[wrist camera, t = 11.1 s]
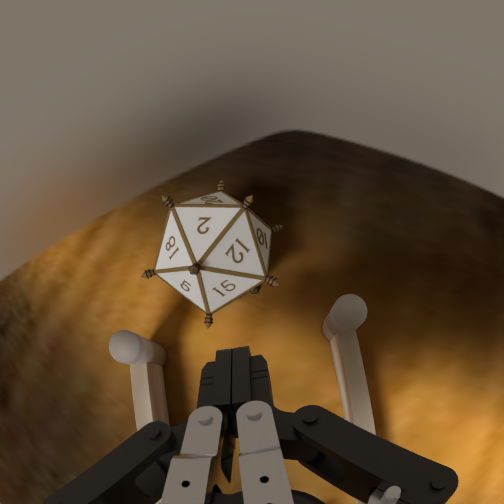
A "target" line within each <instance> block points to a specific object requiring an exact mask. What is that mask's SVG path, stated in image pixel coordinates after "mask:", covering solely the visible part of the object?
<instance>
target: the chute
mask: <svg viewBox="0 0 504 504" xmlns="http://www.w3.org/2000/svg"><path fill="white" fill-rule="evenodd" d="M366 317H367V306H366V304H365V302H364V301H363V299H361V298H360V297H359V296H357V295H354V294H346V295H343V296H341V297H339V298H338V299H337V300H336V302H335V303H334V305H333V307H332V308H331V310H330V312H329V313H328V315H327V316H326V318H325V320H324V321H323V323H322V327H321V330H322V334H323V336H324V337H325V338H326V339H327V340H329V341H330V346H331V351H332V355H333V360H334V366H335V371H336V376H337V381H338V386H339V392H340V397H341V403H342V408H343V414H344V419H345V420H347V421H349V422H351V423H353V424H355V425H356V426H358V427H360V428H362V429H364V430H366V431H368V432H370V433H372V434H374V435H376V432H375V426H374V420H373V414H372V408H371V402H370V397H369V391H368V386H367V381H366V376H365V371H364V366H363V361H362V356H361V352H360V347H359V342H358V338H357V334H356V329H357V328H358V327H359V326H360V325H362V324H363V323H364V321H365V319H366ZM109 350H110V353H111V355H112V357H113V358H114V359H115V360H116V361H118V362H122V363H126V364H130V371H131V383H132V393H133V402H134V410H135V418H136V425H137V431H138V430H140V429H141V428H142V427H143V426H145V425H146V424H148V423H150V422H154V421H162V422H165V423H166V424H168V425H169V427H170V423H169V416H168V409H167V401H166V393H165V385H164V376H163V365H164V364H165V362H166V358H167V355H166V351H165V349H164V348H163V347H162V346H161V345H160V344H157V343H155V342H153V341H150V340H148V339H146V338H144V337H141V336H139V335H137V334H135V333H133V332H130V331H128V330H119V331H117V332H116V333H115V334H114V335H113V336H112V337H111V339H110V343H109ZM161 499H162V498H161ZM161 499H160V500H159V501H158V502H157V503H156V504H159V503H161ZM356 502H357V504H365V503H363V502H361V501H359V500H358V499H356Z"/></svg>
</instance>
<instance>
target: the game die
mask: <svg viewBox="0 0 504 504" xmlns="http://www.w3.org/2000/svg"><path fill="white" fill-rule="evenodd" d="M217 185H218V187H217V188H218V191H217V192H214V193H210V194H206V195H203V196H199V197H196V198H192V199H189V200H185V201H182V202H179V203H175V204H174V203H173V202H172V199H170V196H163V195H162V200H163V204H164V203H165V205H166V206H168V207H170V208H169V212H168V215H167V219H166V223H165V226H164V230H163V234H162V238H161V241H160V245H159V249H158V253H157V257H156V261H155V265H154V269H153V270H149V269H148V270H147V271H146V270H145V272H144V273H143V275H142V276H141V277H144V278H148V279H149V277H152V276H153V275H157V276H158V277H159V278H161V279H162V280H163V281H164V282H166V283H167V284H168V285H169V286H171V287H172V288H173V289H175V290H176V291H177V292H178V293H180V294H181V295H182V296H184V297H185V298H186V299H187V300H189V301H190V302H191V303H193V304H194V305H195V306H197V307H198V308H199V309H201V310H202V311H203V312H205V313H206V318H205V322H204V323H205V324H206V326H207V328H209V327H210V326H211V324H212V323H213V322H212V320H213V319H212V314H213V313H215V312H217V311H218V310H220V309H222V308H223V307H225V306H226V305H228V304H230V303H231V302H233V301H235V300H236V299H238V298H239V297H241V296H243V295H244V294H246V293H247V292H249V291H250V292H252V294H258V289H257V288H256V287H257V286H259V285H260V284H262V283H263V282H265V281H266V282H267V284H269V285H270V286H280V285H279V283H278V281H277V278H274V277H273V276H272V277H270V276H268V272H269V261H270V250H271V238H272V232H276V233H277V232H278V231H279V232H280V230H281V228H282V227H283V226H282V225H278V224H276V225H273V226H272V227H269V226H268V225H267V224H266V223H265V222H264V221H263V220H262V219H260V218H259V217H258V216H257V215H256V214H255V213H254V212H253V211H251V210H250V209H249V208H248V207H250V206H251V204H252V203H254V202H253V195H252V196H248V197H247V196H245V199H244V200H243V203H241V202H239V201H238V200H236V199H234V198H233V197H231V196H230V195H228V194H226V193H225V192H223V190H224V188H225V184H224V182H223V180H221V181H220V182H219V183H218V184H217Z"/></svg>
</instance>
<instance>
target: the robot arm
mask: <svg viewBox="0 0 504 504" xmlns="http://www.w3.org/2000/svg"><path fill="white" fill-rule="evenodd" d="M235 438H239V444H240V454H239V465H240V474H241V482H242V490H243V491H241V492H238V493H234V476H235V464H236V448H235ZM283 459H290V460H298V461H299V463H300V464H301V465H303V466H304V467H306V468H307V469H309V470H310V471H312V472H313V473H315V474H316V475H318V476H320V477H321V478H323V479H324V480H326V481H327V482H329V483H331V484H332V485H334V486H335V487H337V488H339V489H340V490H342V491H344V492H345V493H347V494H349V495H351V496H352V497H354V498H356V499H358V500H359V501H361V502H363V503H365V504H445V503H446V502H447V501H448V499H449V498H450V497H451V496H452V495H453V493H454V492H455V491H456V489H457V487H458V476H457V474H456V473H455V471H454V470H452V469H451V468H449V467H447V466H444V465H442V464H439V463H437V462H434V461H432V460H429V459H427V458H425V457H422V456H420V455H418V454H415V453H413V452H411V451H409V450H406V449H404V448H402V447H400V446H398V445H395V444H393V443H391V442H389V441H387V440H385V439H383V438H381V437H379V436H376V435H374V434H372V433H370V432H368V431H366V430H364V429H362V428H360V427H358V426H356V425H355V424H353V423H351V422H349V421H347V420H345V419H343V418H341V417H339V416H337V415H335V414H334V413H332V412H330V411H328V410H326V409H324V408H323V407H320V406H317V405H308V406H304V407H302V408H300V409H298V410H297V411H296V412H295V413H291V412H284V411H281V410H279V409H277V408H276V407H275V406H274V404H273V396H272V388H271V381H270V376H269V371H268V366H267V361H266V360H265V359H264V358H263V356H262V355H257V356H251V353H250V349H249V346H245V347H238V348H233V349H224V350H217V351H216V359H215V361H214V362H207V363H206V365H205V366H204V368H203V369H202V372H201V380H200V387H199V394H198V402H197V409H196V410H194V411H193V412H192V413H191V415H190V416H189V419H188V421H186V422H185V423H182V424H179V425H176V426H172V427H169V425H168V424H166V423H165V422H162V421H154V422H150V423H148V424H146V425H145V426H143V427H142V428H141V429H140V430H138V431H137V432H136V433H135V434H133V435H132V436H131V437H130V438H128V439H127V440H126V441H124V442H123V443H122V444H121V445H119V446H118V447H117V448H115V449H114V450H113V451H112V452H110V453H109V454H108V455H106V456H105V457H104V458H102V459H101V460H100V461H98V462H97V463H96V464H94V465H93V466H92V467H90V468H89V469H88V470H86V471H85V472H83V473H82V474H81V475H79V476H78V477H76V478H75V479H74V480H72V481H71V482H69V483H68V484H67V485H65V486H64V487H62V488H61V489H60V490H58V491H57V492H55V493H54V494H52V495H51V496H49V497H48V498H47V499H46V500H45V502H44V504H156V503H157V502H158V501H159V500H160V499H161V498H162V499H161V503H159V504H325V503H324V502H322V501H321V500H319V499H318V498H316V497H314V496H312V495H310V494H308V493H305V492H301V491H297V490H291V489H290V485H289V481H288V477H287V473H286V468H285V464H284V460H283Z"/></svg>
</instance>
